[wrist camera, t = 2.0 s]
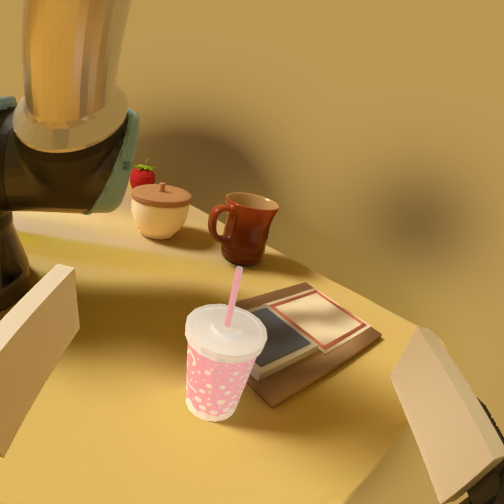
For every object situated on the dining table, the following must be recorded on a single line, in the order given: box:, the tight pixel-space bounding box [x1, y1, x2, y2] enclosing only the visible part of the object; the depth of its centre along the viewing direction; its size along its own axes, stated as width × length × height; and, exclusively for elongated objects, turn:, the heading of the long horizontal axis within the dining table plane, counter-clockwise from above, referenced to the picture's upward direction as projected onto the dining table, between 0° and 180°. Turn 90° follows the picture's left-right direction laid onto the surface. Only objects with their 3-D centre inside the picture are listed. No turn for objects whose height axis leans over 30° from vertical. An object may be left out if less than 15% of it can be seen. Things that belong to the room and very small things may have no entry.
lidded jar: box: [131, 183, 191, 239], centre depth 56 cm, size 11×11×9 cm
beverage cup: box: [185, 266, 267, 422], centre depth 24 cm, size 6×6×14 cm
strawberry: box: [130, 159, 155, 189], centre depth 71 cm, size 6×8×10 cm
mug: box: [208, 192, 280, 265], centre depth 53 cm, size 12×9×10 cm
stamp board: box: [226, 282, 382, 408], centre depth 39 cm, size 15×21×2 cm
